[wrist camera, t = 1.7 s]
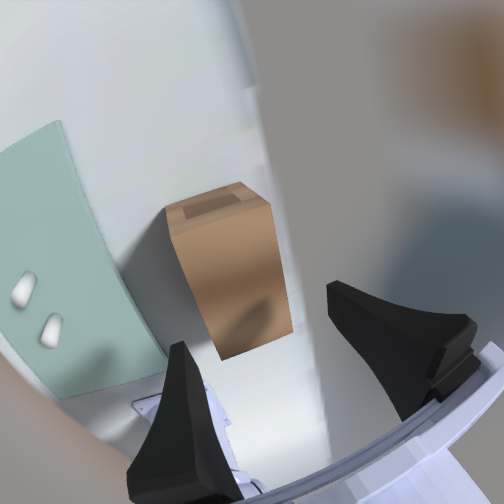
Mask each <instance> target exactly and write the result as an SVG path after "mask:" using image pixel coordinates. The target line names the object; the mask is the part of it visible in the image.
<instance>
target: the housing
mask: <svg viewBox="0 0 504 504" xmlns="http://www.w3.org/2000/svg"><path fill="white" fill-rule="evenodd" d="M165 211H166V217H167V223H168V228H169V234H170V238H171V241H172V244H173V246H174V249H175V252H176V254H177V257H178V260H179V262H180V265H181V267H182V270H183V272H184V275H185V277H186V280H187V282H188V285H189V287H190V290H191V292H192V295H193V297H194V299H195V302H196V304H197V306H198V309H199V311H200V314H201V316H202V318H203V320H204V323H205V325H206V327H207V330H208V332H209V334H210V336H211V339H212V341H213V343H214V345H215V347H216V350H217V352H218V354H219V356H220V358H221V360H222V361H223V360H226V359H228V358H231V357H234V356H236V355H239V354H242V353H244V352H247V351H249V350H252V349H254V348H257V347H259V346H262V345H264V344H267V343H269V342H272V341H274V340H276V339H279V338H281V337H283V336H286V335H288V334H290V333H293V327H292V321H291V315H290V309H289V303H288V297H287V291H286V286H285V280H284V274H283V269H282V263H281V258H280V252H279V247H278V241H277V236H276V231H275V226H274V220H273V215H272V210H271V205H270V203H269V202H267V201H266V200H265V199H263V198H262V197H261V196H259V195H258V194H257V193H255V192H254V191H252V190H251V189H250V188H248V187H247V186H246V185H244V184H243V183H242V182H238V183H234V184H231V185H228V186H225V187H222V188H218V189H215V190H212V191H209V192H206V193H203V194H200V195H197V196H194V197H191V198H188V199H185V200H182V201H179V202H176V203H174V204H171V205H168V206H165Z"/></svg>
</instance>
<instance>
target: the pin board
mask: <svg viewBox="0 0 504 504" xmlns="http://www.w3.org/2000/svg"><path fill="white" fill-rule="evenodd" d="M0 332H1V333H2V334H3V336H4V337H5V338H6V340H7V341H8V342H9V344H10V345H11V346H12V347H13V349H14V350H15V351H16V352H17V354H18V355H19V356H20V357H21V358H22V360H23V361H24V362H25V363H26V364H27V365H28V366H29V368H30V369H31V370H32V371H33V372H34V373H35V374H36V375H37V376H38V377H39V379H40V380H41V381H42V382H43V383H44V384H45V385H46V386H47V387H48V388H49V389H50V390H51V391H52V392H53V393H54V394H55V395H56V396H57V397H58V398H59V399H65V398H69V397H74V396H78V395H82V394H86V393H91V392H95V391H99V390H102V389H106V388H110V387H114V386H117V385H121V384H125V383H128V382H132V381H135V380H139V379H142V378H145V377H149V376H152V375H155V374H158V373H162V372H165V371H167V367H168V358H167V357H166V355H165V353H164V352H163V350H162V349H161V347H160V345H159V344H158V342H157V341H156V339H155V337H154V336H153V334H152V332H151V330H150V329H149V327H148V325H147V324H146V322H145V320H144V318H143V317H142V315H141V313H140V311H139V310H138V308H137V306H136V304H135V302H134V300H133V299H132V297H131V295H130V293H129V291H128V289H127V287H126V285H125V283H124V281H123V279H122V277H121V275H120V273H119V271H118V269H117V267H116V265H115V263H114V261H113V259H112V257H111V255H110V253H109V251H108V248H107V246H106V244H105V242H104V240H103V237H102V235H101V233H100V231H99V228H98V226H97V224H96V221H95V219H94V216H93V214H92V211H91V209H90V207H89V204H88V201H87V199H86V196H85V194H84V191H83V188H82V186H81V183H80V180H79V177H78V175H77V172H76V169H75V166H74V163H73V160H72V157H71V154H70V151H69V147H68V144H67V141H66V138H65V134H64V131H63V127H62V124H61V120H59V121H54V122H52V123H50V124H48V125H46V126H44V127H42V128H41V129H39V130H37V131H35V132H33V133H32V134H30V135H28V136H27V137H25V138H23V139H21V140H20V141H18V142H17V143H15V144H13V145H12V146H10V147H9V148H7V149H5V150H4V151H2V152H1V153H0Z"/></svg>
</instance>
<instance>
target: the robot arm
mask: <svg viewBox="0 0 504 504" xmlns="http://www.w3.org/2000/svg"><path fill="white" fill-rule="evenodd" d="M326 286H327V303H328V315H329V317H330V319H331V320H332V322H333V323H334V325H335V326H336V328H337V329H338V330H339V331H340V333H341V334H342V335H343V336H344V337H345V339H346V340H347V341H348V342H349V343H350V344H351V345H352V346H353V348H354V349H355V350H356V351H357V352H358V353H359V354H360V356H361V357H362V358H363V359H364V360H365V361H366V363H367V364H368V365H369V367H370V368H371V369H372V371H373V373H374V374H375V375H376V377H377V379H378V380H379V382H380V383H381V385H382V386H383V388H384V390H385V391H386V393H387V394H388V396H389V398H390V400H391V402H392V403H393V405H394V407H395V409H396V411H397V413H398V415H399V417H400V419H401V421H402V423H401V424H399V425H398V426H396V427H395V428H393V429H392V430H390V431H389V432H387V433H386V434H385V435H383V436H381V437H380V438H378V439H376V440H375V441H373V442H372V443H370V444H368V445H367V446H365V447H363V448H361V449H360V450H358V451H356V452H354V453H353V454H351V455H349V456H347V457H345V458H344V459H342V460H340V461H338V462H336V463H334V464H332V465H330V466H328V467H326V468H324V469H322V470H319V471H317V472H315V473H313V474H311V475H309V476H306V477H304V478H302V479H299V480H297V481H295V482H292V483H290V484H287V485H285V486H282V487H279V488H277V489H274V490H271V491H270V490H269V488H268V487H267V486H266V485H264V484H263V483H262V482H260V481H259V480H257V479H250V478H249V475H248V473H247V471H239V468H238V464H237V461H236V458H235V456H234V453H233V450H232V448H231V445H230V442H229V439H228V437H227V434H226V431H225V428H224V427H225V426H228V425H230V424H231V420H230V418H229V417H228V415H227V414H226V412H225V411H224V409H223V408H222V406H221V404H220V403H219V401H218V400H217V398H216V396H215V395H214V393H213V391H212V390H211V388H210V386H209V385H208V383H207V382H205V381H203V380H202V377H201V374H200V371H199V368H198V366H197V364H196V363H195V361H194V359H193V357H192V355H191V354H190V352H189V350H188V348H187V346H186V345H185V343H184V341H181V342H179V343H176V344H173V345H171V346H170V352H169V360H168V367H167V373H166V378H165V383H164V387H163V391H162V394H160V395H157V396H154V397H150V398H146V399H143V400H139V401H136V402H134V403H133V407H134V408H135V409H136V410H137V411H138V412H139V413H140V414H141V415H142V416H143V417H144V418H145V419H146V420H147V421H148V422H149V423H150V424H151V428H150V431H149V433H148V435H147V437H146V439H145V441H144V443H143V445H142V447H141V449H140V451H139V453H138V454H137V456H136V458H135V459H134V461H133V462H132V464H131V466H130V467H129V469H128V470H127V487H128V494H129V499H130V500H131V501H132V502H133V503H135V504H294V503H293V502H288V501H291V500H293V499H296V498H298V497H301V496H303V495H305V494H308V493H310V492H312V491H315V490H317V489H319V488H321V487H323V486H325V485H328V484H330V483H332V482H334V481H336V480H338V479H340V478H342V477H344V476H346V475H347V474H349V473H351V472H353V471H355V470H357V469H358V468H360V467H362V466H364V465H365V464H367V463H369V462H370V461H372V460H374V459H375V458H377V457H378V456H380V455H382V454H383V453H385V452H386V451H388V450H390V449H391V448H393V447H394V446H395V445H397V444H398V443H400V442H401V441H403V440H404V439H405V441H404V442H403V443H401V444H400V445H398V446H397V447H396V448H394V449H392V450H391V451H389V452H388V453H387V454H385V455H383V456H382V457H380V458H379V459H377V460H375V461H374V462H372V463H370V464H369V465H367V466H366V467H364V468H362V469H360V470H358V471H356V472H355V473H353V474H351V475H350V476H348V477H346V478H345V479H343V480H341V481H340V482H339V483H337V484H335V485H333V486H331V487H329V488H327V489H326V490H324V491H322V492H320V493H318V494H316V495H314V496H312V497H310V498H308V499H306V500H303V501H301V502H299V503H297V504H491V503H490V502H489V501H488V499H487V498H486V497H485V496H484V494H483V493H482V492H481V490H480V489H479V488H478V487H477V485H476V484H475V483H474V482H473V480H472V479H471V478H470V477H469V475H468V474H467V473H466V472H465V470H464V469H463V468H462V467H461V465H460V464H459V463H458V462H457V460H456V459H455V458H454V457H453V455H452V454H451V453H450V452H449V451H448V448H449V447H450V446H451V445H452V444H453V443H454V442H455V441H456V440H457V439H459V438H460V437H461V436H462V435H463V433H465V432H466V431H467V430H468V429H469V428H470V427H471V426H472V425H473V424H474V423H475V422H476V421H477V420H478V419H479V417H480V416H481V415H482V414H483V413H484V412H485V411H486V410H487V409H488V408H489V407H490V405H491V404H492V403H493V402H494V401H495V400H496V399H497V397H498V396H499V395H500V394H501V393H502V391H503V390H504V352H503V351H502V350H500V349H499V348H498V347H497V346H496V345H495V344H494V343H493V342H492V341H489V343H488V344H487V345H486V346H485V347H484V348H483V349H482V350H481V351H480V352H479V353H478V355H477V356H476V357H475V356H474V355H473V352H474V350H473V349H472V348H471V347H470V345H471V343H472V341H473V339H474V337H475V334H476V332H477V323H476V322H474V321H473V320H472V319H471V318H469V317H468V316H467V315H466V314H442V313H432V312H425V311H420V310H415V309H410V308H407V307H403V306H399V305H396V304H393V303H390V302H387V301H384V300H382V299H379V298H376V297H374V296H371V295H369V294H367V293H365V292H362V291H360V290H358V289H355V288H354V287H351V286H349V285H347V284H345V283H342V282H340V281H337V280H336V281H334V282H331V283H329V284H327V285H326ZM286 502H287V503H286Z"/></svg>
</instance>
